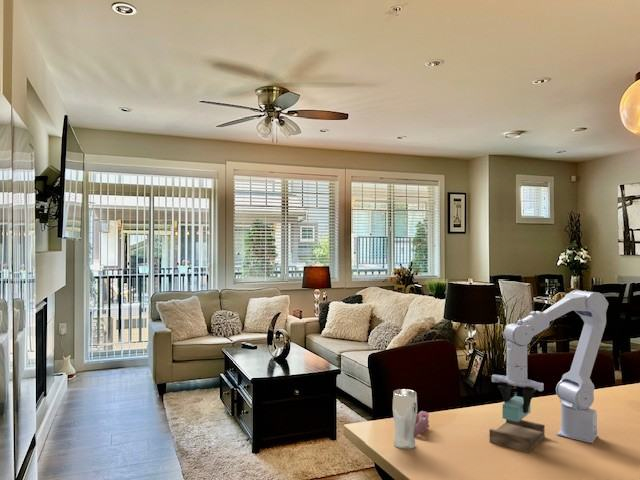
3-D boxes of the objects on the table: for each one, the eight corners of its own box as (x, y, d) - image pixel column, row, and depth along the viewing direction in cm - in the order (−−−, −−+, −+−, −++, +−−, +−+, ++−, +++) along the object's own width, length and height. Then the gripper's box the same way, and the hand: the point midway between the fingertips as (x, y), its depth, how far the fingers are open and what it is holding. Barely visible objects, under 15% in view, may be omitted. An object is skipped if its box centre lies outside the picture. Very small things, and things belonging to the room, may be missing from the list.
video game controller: (422, 442, 141) (432, 422, 140) (408, 434, 142) (418, 414, 141) (421, 430, 151) (431, 411, 150) (408, 422, 151) (418, 403, 151)
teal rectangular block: (530, 412, 143) (530, 399, 143) (518, 422, 135) (518, 408, 135) (515, 408, 146) (515, 395, 146) (502, 418, 138) (502, 404, 138)
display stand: (544, 436, 142) (544, 425, 142) (528, 452, 131) (528, 440, 131) (507, 427, 149) (507, 416, 149) (489, 441, 138) (489, 429, 138)
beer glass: (402, 451, 131) (402, 397, 131) (387, 442, 137) (387, 390, 137) (422, 447, 134) (422, 394, 134) (406, 438, 140) (407, 387, 140)
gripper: (487, 362, 142) (487, 408, 142) (538, 371, 133) (538, 419, 133) (496, 358, 148) (496, 402, 147) (545, 366, 138) (545, 413, 138)
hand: (516, 410), depth 140 cm, fingers closed on teal rectangular block, 4 cm apart
